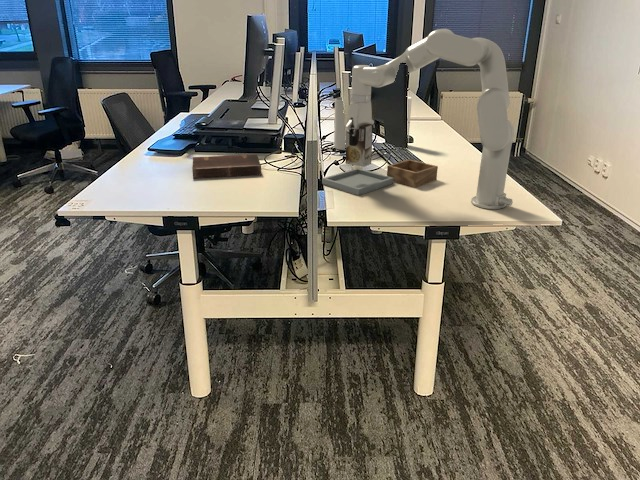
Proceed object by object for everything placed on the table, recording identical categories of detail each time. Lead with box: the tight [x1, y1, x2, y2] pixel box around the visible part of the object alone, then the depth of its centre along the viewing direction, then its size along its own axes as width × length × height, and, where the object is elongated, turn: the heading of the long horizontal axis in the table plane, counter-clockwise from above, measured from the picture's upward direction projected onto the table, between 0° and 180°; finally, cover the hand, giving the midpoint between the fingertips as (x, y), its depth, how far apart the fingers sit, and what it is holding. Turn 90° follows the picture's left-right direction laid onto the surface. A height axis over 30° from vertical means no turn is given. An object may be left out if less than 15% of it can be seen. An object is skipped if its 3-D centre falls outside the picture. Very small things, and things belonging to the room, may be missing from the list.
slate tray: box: [321, 167, 395, 196], centre depth 216 cm, size 20×22×2 cm
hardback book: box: [191, 154, 262, 180], centre depth 232 cm, size 29×19×5 cm, turn 102°
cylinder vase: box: [333, 96, 346, 151], centre depth 268 cm, size 12×12×25 cm
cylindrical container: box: [407, 96, 413, 142], centre depth 273 cm, size 7×7×25 cm
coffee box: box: [345, 124, 374, 168], centre depth 210 cm, size 9×6×16 cm
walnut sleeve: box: [386, 159, 439, 188], centre depth 221 cm, size 15×15×6 cm
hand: (359, 143), depth 209 cm, fingers closed on coffee box, 7 cm apart
